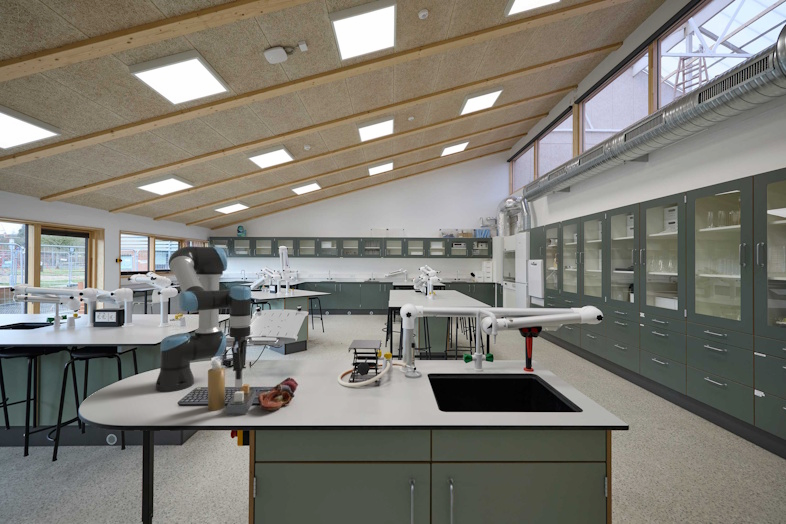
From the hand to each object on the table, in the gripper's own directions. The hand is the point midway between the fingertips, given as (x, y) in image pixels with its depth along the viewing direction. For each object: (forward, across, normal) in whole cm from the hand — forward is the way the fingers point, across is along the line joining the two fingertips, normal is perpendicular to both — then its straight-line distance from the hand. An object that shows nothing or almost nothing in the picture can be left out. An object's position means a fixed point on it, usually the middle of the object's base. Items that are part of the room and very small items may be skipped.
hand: (239, 386), depth 136 cm
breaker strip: (+9, -7, 0) cm, 12 cm away
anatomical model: (+10, -3, +14) cm, 17 cm away
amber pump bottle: (+9, -4, -10) cm, 14 cm away
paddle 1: (+6, 0, 0) cm, 6 cm away
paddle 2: (+6, -8, 0) cm, 10 cm away
